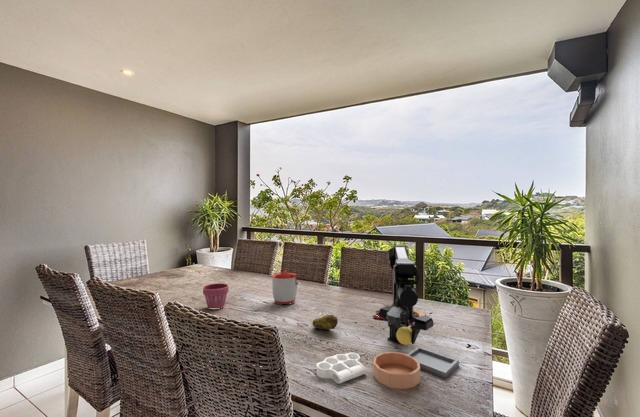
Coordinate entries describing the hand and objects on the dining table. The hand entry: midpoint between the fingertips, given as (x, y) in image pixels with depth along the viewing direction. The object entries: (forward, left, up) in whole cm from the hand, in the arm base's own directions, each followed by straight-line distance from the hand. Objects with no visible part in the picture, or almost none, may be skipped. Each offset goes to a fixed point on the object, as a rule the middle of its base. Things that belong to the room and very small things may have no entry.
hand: (405, 341), depth 109 cm
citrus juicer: (-93, +21, -11) cm, 96 cm away
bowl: (-1, -4, -11) cm, 12 cm away
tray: (+4, +12, -11) cm, 17 cm away
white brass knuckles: (-17, -15, -12) cm, 25 cm away
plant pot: (-115, -14, -11) cm, 116 cm away
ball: (0, 0, +2) cm, 2 cm away
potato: (-46, +7, -11) cm, 48 cm away
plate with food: (-30, +51, -12) cm, 60 cm away
